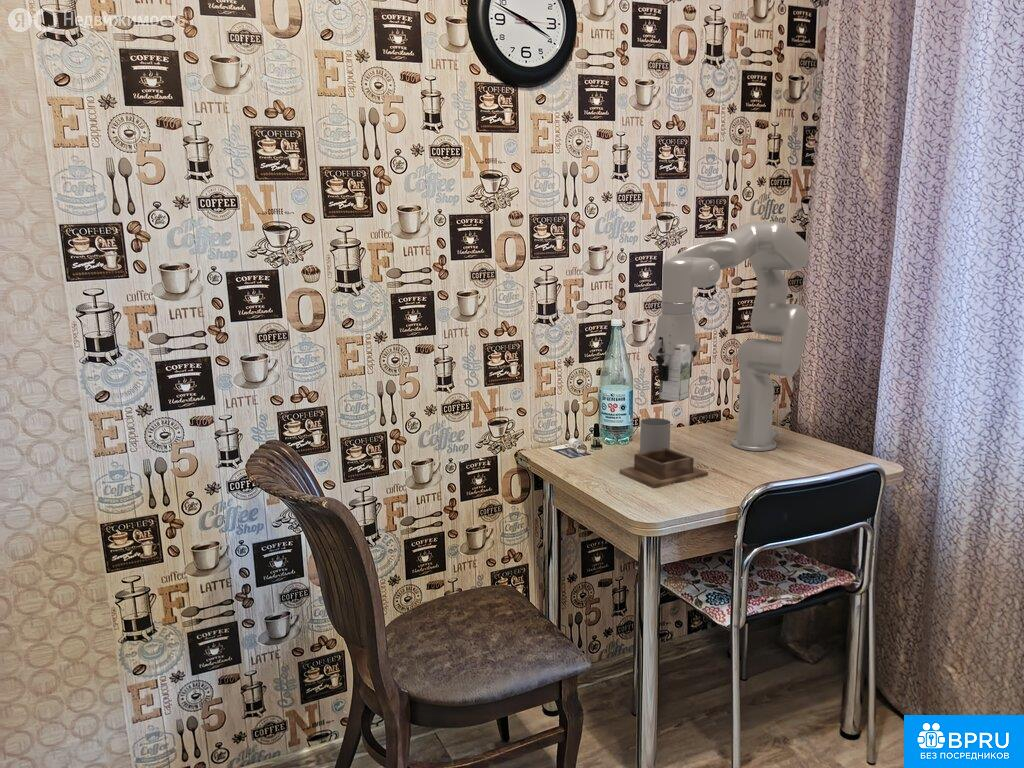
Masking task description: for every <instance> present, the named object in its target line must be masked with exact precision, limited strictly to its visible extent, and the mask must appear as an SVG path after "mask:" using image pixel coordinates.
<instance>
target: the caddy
mask: <svg viewBox="0 0 1024 768" xmlns="http://www.w3.org/2000/svg"><path fill="white" fill-rule="evenodd" d="M633 460H634V462H633V463H634V465H633V466H630V467H625V468H620V469H619V474H621V475H623V476H625V477H627V478H630V479H632V480H634V481H636V482H638V483H641V484H644V485H646V486H649V487H650V488H653V489H658V488H661V486H662V487H666V486H670V485H669V484H671V485H675V484H679V483H683V482H687V480H688V481H692V480H695V478H696V479H699V477H700V478H704V476H705V477H708V476H709V472H708V471H706V470H703V469H700V468H698V467H695V466H694V464H695V463H694V462H695V461H694V460H695V458H694V457H692V456H689V455H686V454H683V453H681V452H678V451H676V450H673V449H671V448H670V449H667V448H663V449H658V450H654V451H649V452H644V453H640V452H639V453H635V454H634V459H633ZM691 479H692V480H691ZM678 482H679V483H678ZM674 483H675V484H674ZM665 485H666V486H665ZM657 487H658V488H657Z"/></svg>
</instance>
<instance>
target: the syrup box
mask: <svg viewBox="0 0 1024 768" xmlns="http://www.w3.org/2000/svg"><path fill="white" fill-rule="evenodd" d="M662 348H663V346H662V347H661V349H662ZM663 352H664V353H665V350H664V348H663ZM664 357H665V356H663V359H664ZM690 361H691V352H690V345H687V344H685V345H676V348H675V353H674V355H670V358H669V360H668V363H667V366H668V367H669V372H668V381H662V380H659V386H658V387H659V388H658V392H659V393H658V399H659V400H663V401H672V402H681V401H684V400H686V399H688V398H689V395H690Z"/></svg>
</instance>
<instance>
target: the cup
mask: <svg viewBox="0 0 1024 768" xmlns="http://www.w3.org/2000/svg"><path fill="white" fill-rule="evenodd" d="M639 433H640V435H639V436H640V437H639V441H640V442H639V453H644V452H649V451H654V450H658V449H663V448H667V449H670V450H671V421H670V420H669V419H666V418H659V417H658V418H657V417H650V418H649V417H648V418H643V419H641V420H640V431H639Z"/></svg>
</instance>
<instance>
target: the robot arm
mask: <svg viewBox="0 0 1024 768" xmlns="http://www.w3.org/2000/svg"><path fill="white" fill-rule="evenodd" d="M809 259H810V249H809V246H808V244H807V242H806V241H805V239H803V238H802V237H801V236H800V235H799V234H797V232H795V231H794V230H793V229H792V228H790V227H789V226H788V225H786V224H785V223H782V222H780V221H750V222H747V223H746V222H745V223H744V224H742V225H740V226H738V227H736V228H735V229H734V230H732V231H730V232H729V233H727V234H725V235H723V236H722V237H720V238H716V239H714V240H710V241H707V242H704V243H701V244H697V245H694V246H691V247H688V248H686V249H683V250H682V251H680V252H678V253H676V254H675V255H674V256H672V257H671V258H670V259H667V260H665V261H664V262H663V264H662V281H661V282H662V283H661V288H662V289H661V314H659V315H658V318H657V323H656V327H655V334H654V335H655V336H654V345H653V346H652V347H651V348H650V349H649V353H650V355H651V356H652V359H653V360H654V362H655V364H656V365H657V380H658V381H660V380H662V381H668V372H669V367H668V366H667V363H668V360H669V358H670V355H674V353H675V348H676V345H685V344H687V345H690V352H691V361H690V378H692V369H693V368H692V366H693V365H692V364H693V363H694V362H695V358H696V356H698V352H699V350H700V349H701V347H702V346H701V344H700V343H699V341H697V340H696V326H695V325H696V324H695V319H694V314H693V309H694V307H695V305H694V303H693V299H694V298H693V297H694V296H693V295H694V288H699V289H700V288H701V289H705V288H706V289H707V288H710V287H712V286H714V285H716V284H717V282H718V281H719V280H720V277H721V273H722V271H723V270H728V269H732V268H735V267H737V266H738V265H740V264H742V263H744V262H745V261H747V260H748V261H749V263H750V266H751V268H752V269H753V271H754V275H755V277H756V281H757V282H756V283H757V284H756V285H757V288H756V294H755V298H754V302H753V308H752V312H751V317H750V329H751V331H752V332H754V333H755V334H758V335H763V336H769V337H777V338H781V339H782V340H781V341H778V340H771V339H763V338H749V339H746V340H744V341H743V342H742V343H741V344H740V345H739V347H738V349H737V363H738V371H739V393H738V394H739V395H738V415H737V417H738V418H737V436H735V437H733V438H732V439H731V446H733V447H735V448H737V449H740V450H746V451H751V452H752V451H753V452H754V451H755V452H766V451H771V450H774V449H776V448H777V442H776V441H775V440H774V438H775V437H778V436H781V435H782V434H783V431H782V430H781V429H780V428H778V429H773V412H774V411H773V409H774V394H775V387H774V384H773V381H772V379H771V376H770V375H772V376H773V375H774V376H781V377H791V376H793V375H795V374H796V373H797V372H798V370H799V367H800V365H801V361H802V358H803V352H804V348H805V344H806V339H807V334H808V330H809V315H808V312H807V310H806V308H805V307H804V306H802V305H800V304H796V303H787V298H788V294H789V283H788V281H787V279H786V276H785V275H784V273H783V272H782V271H785V270H786V271H797V270H801V269H803V268H804V267H805V266H806V265H807V263H808V262H809ZM662 346H663V348H664V350H665V353H664V352H663V348H662V349H661V347H662ZM663 356H665V357H664V359H663Z"/></svg>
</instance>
